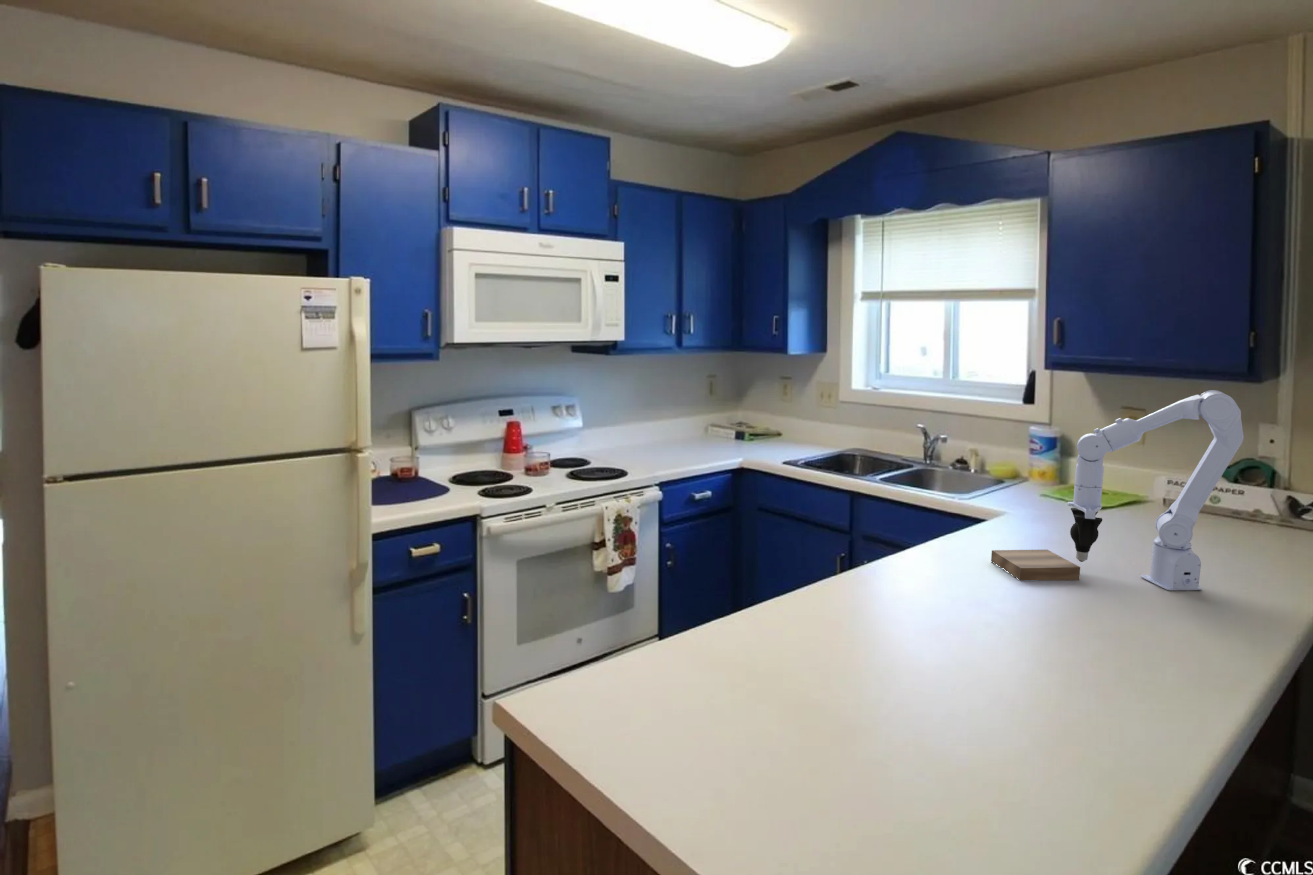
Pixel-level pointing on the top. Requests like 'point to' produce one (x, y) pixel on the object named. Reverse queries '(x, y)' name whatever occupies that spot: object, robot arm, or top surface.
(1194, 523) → the robot arm
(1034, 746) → the top surface
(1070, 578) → the walnut plinth
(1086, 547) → the light bulb
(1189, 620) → the top surface
